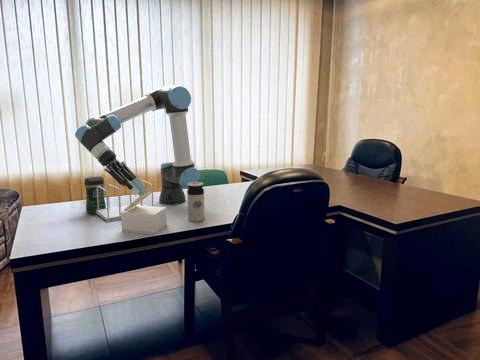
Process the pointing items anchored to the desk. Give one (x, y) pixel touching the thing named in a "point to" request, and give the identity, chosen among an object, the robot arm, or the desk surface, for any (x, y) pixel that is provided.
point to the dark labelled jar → (195, 201)
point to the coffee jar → (94, 194)
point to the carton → (144, 219)
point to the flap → (142, 193)
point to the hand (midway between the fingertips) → (140, 192)
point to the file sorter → (115, 212)
